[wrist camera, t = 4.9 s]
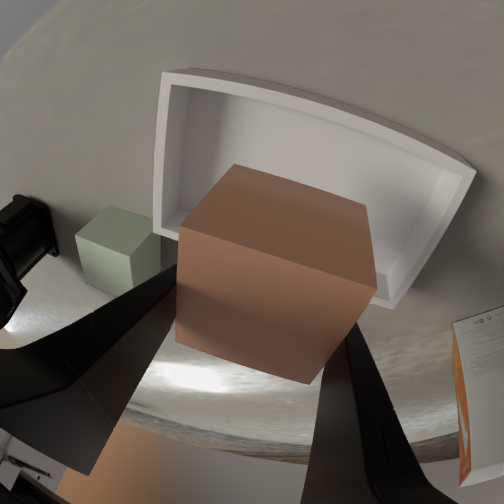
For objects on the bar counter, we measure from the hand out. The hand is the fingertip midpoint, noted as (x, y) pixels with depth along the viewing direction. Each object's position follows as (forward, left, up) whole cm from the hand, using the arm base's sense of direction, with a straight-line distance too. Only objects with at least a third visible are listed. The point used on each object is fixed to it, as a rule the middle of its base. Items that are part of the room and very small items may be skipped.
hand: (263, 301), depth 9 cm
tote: (0, 0, -10) cm, 10 cm away
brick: (0, 0, -3) cm, 3 cm away
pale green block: (-9, +11, -10) cm, 18 cm away
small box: (-8, -21, -10) cm, 24 cm away
